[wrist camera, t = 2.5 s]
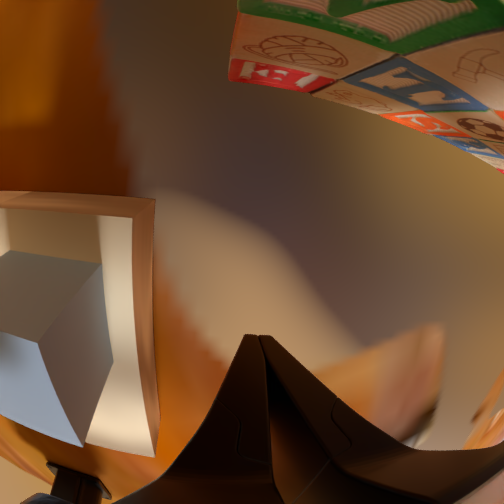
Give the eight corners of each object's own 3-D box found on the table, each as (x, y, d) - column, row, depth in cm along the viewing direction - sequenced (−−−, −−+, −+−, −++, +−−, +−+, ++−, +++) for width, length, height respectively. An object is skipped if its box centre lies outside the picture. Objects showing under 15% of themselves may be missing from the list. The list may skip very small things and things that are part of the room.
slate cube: (113, 362, 9) (82, 447, 5) (30, 341, 9) (-14, 406, 5) (101, 263, 8) (37, 342, 4) (10, 250, 7) (-62, 303, 4)
